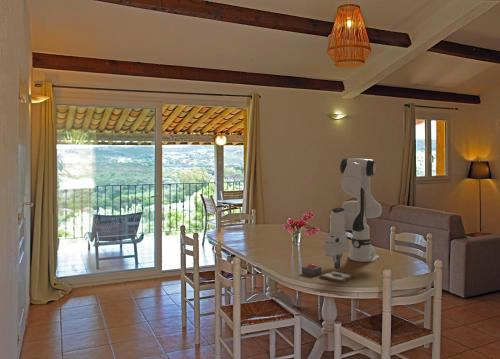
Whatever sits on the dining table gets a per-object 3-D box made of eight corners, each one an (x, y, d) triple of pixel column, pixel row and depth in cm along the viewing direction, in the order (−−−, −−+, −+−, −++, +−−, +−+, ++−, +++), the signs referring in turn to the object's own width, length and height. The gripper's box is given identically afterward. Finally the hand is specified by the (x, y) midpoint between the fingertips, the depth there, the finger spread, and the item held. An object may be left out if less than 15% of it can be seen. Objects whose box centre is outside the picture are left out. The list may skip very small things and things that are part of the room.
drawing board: (332, 272, 250) (332, 270, 250) (354, 277, 241) (354, 275, 241) (319, 277, 240) (319, 275, 240) (341, 283, 231) (341, 280, 231)
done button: (310, 268, 251) (311, 263, 251) (316, 269, 249) (316, 264, 248) (306, 269, 248) (307, 264, 248) (312, 270, 246) (312, 265, 245)
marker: (336, 267, 243) (336, 249, 242) (341, 268, 240) (341, 250, 240) (333, 268, 240) (333, 250, 240) (338, 269, 238) (338, 251, 237)
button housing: (310, 271, 254) (310, 264, 254) (321, 273, 249) (321, 266, 249) (302, 273, 248) (302, 266, 248) (313, 276, 243) (313, 269, 243)
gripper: (342, 234, 249) (342, 257, 250) (322, 239, 234) (322, 263, 235) (352, 235, 245) (351, 259, 246) (332, 240, 230) (332, 266, 231)
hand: (337, 261), depth 240 cm, fingers closed on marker, 3 cm apart
